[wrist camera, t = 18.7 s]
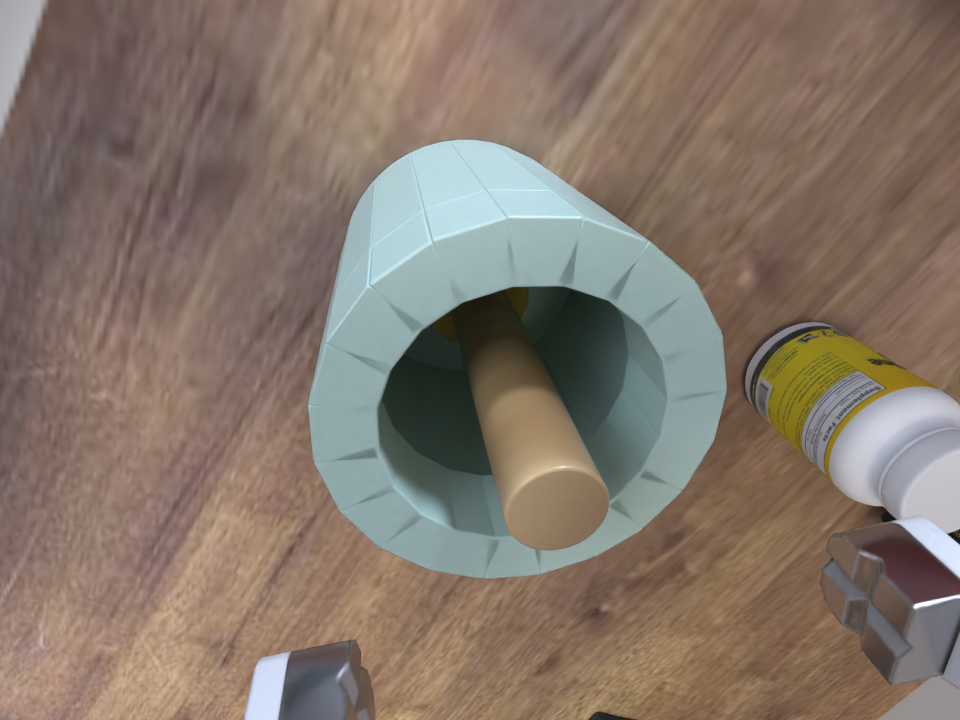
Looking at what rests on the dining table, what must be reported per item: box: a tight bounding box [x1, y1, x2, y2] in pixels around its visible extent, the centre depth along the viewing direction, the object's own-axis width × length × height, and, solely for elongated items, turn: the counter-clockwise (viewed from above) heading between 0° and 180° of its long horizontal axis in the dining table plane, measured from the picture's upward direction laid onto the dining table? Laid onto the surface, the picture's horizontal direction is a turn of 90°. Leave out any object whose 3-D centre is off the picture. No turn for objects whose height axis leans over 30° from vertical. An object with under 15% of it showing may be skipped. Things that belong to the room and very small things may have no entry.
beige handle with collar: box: [432, 287, 609, 551], centre depth 20 cm, size 4×4×16 cm
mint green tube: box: [308, 140, 727, 579], centre depth 22 cm, size 11×11×14 cm
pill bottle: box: [745, 322, 960, 534], centre depth 29 cm, size 6×6×11 cm
